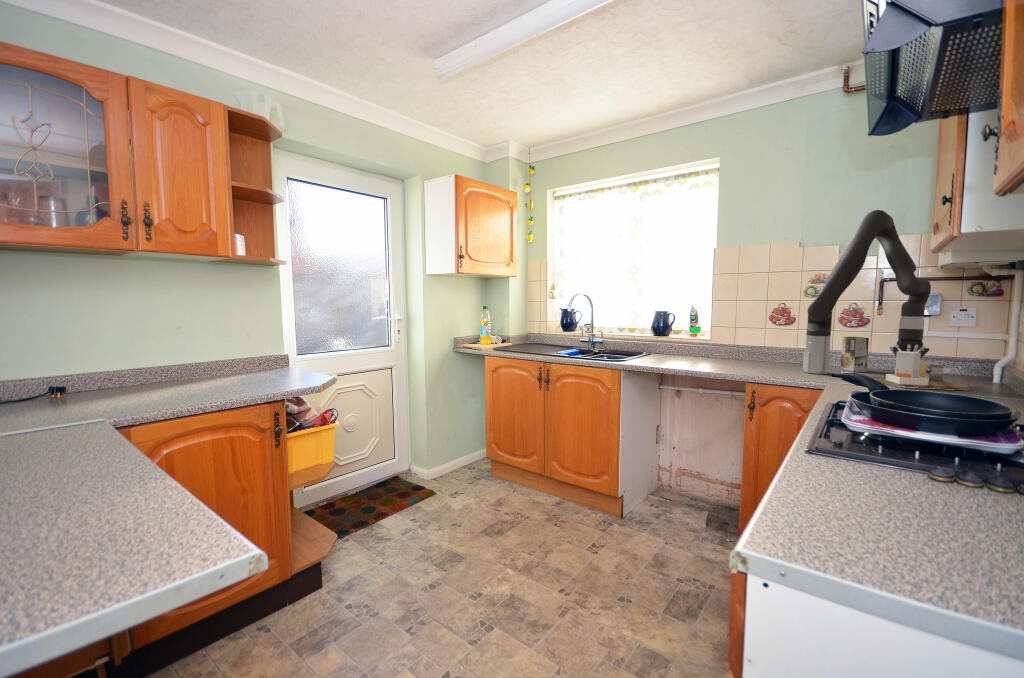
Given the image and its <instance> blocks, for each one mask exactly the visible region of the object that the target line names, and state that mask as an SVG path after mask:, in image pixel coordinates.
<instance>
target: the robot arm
mask: <svg viewBox="0 0 1024 678" xmlns="http://www.w3.org/2000/svg"><path fill="white" fill-rule="evenodd" d="M875 239H876V240H877V241H878V242H879V244H880V245H881V248H882V249H883V252H884V255H885V257H886V261H887V264H888V265H889V267H890V268H891V270H892V272H893V273H894V275H895V277H894V278H895V281H896V285H897V288H898V290H899V291H900V292H901V294H903V295H906V296H908V299H907V300H906V301H905V302H903V303H902V304H901V311H900V319H899V323H898V336H897V341H896V344H894V345H893V346H890V347H889V349H890V351H891V352H892V353H893V354H894V356H896V355H897V352H898V351H905V352H917V353H921V356H920V360H921V359H922V358H923V357H924V356H925V355H926V354H927V353H928V352H929V351H930V348H929V347H926V346H925V345H924V342H923V340H924V331H925V311H926V308H925V307H926V304H927V302H928V300H929V297H930V294H931V291H932V289H931V288H932V286H931V283H930V281H929V279H926V278H923V277H916V274H915V272H916V271H917V266H916V264H915V262H914V260H913V258H912V257H911V255H910V253H909V252H908V250H907V249H906V248H905V246H904V244H903V243H902V241H901V239H900V236H899V235H898V231H897V228H896V225H895V221H894V219H893V217H892V216H891V215H890V214H888V213H887V212H886V211H884V210H881V209H876V210H872V211H870V212H868V213H867V214H866V215H865V216H864V217H863V219H861V222H860V224H859V226H858V228H857V230H856V232H855V234H854V236H853V237H852V239H851V241H850V242H849V244H848V245H847V247H846V249H845V250H844V252H843V253H842V255H841V256H840V258H839V259H838V261H837V262H836V264H835V265H834V266H833V268H832V270H831V272H830V274H829V276H828V278H827V279H826V282H825V284H824V286H823V288H822V290H821V291H820V292H819V294H818V295H817V296H816V298H815V299H813V301H812V302H811V303H810V305H808V307H807V327H806V334H805V335H806V338H805V350H804V351H803V358H802V359H803V362H802V363H803V364H802V372H805V373H807V374H809V373H810V374H817V375H818V374H819V375H820V374H821V375H823V374H824V375H825V374H829V369H830V368H829V367H830V353H831V352H830V351H831V336H832V334H831V333H832V323H833V321H832V320H833V319H832V318H833V310H834V308H835V306H836V304H837V302H838V300H839V299H840V297H841V296H842V294H844V292H845V291H846V290H847V289H848V288H849V287H850V285H851V284H852V283H853V281H854V280H855V279H856V278H857V276H858V274H859V273H860V272H861V271H862V269H863V267H864V266H865V264H866V263H865V262H866V260H867V256H868V252H869V250H870V247H871V245H872V244H873V241H875Z"/></svg>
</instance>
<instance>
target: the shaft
mask: <svg viewBox="0 0 1024 678" xmlns="http://www.w3.org/2000/svg"><path fill="white" fill-rule="evenodd" d="M926 363H927V362H922V361H920V368H919V376H920V377H924V378H925V373H926V372H929V370H930V367H926ZM960 372H961V371H960V369H959V368H957V367H955V368H954V367H944V368H943V374H959V373H960Z"/></svg>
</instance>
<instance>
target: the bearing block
mask: <svg viewBox="0 0 1024 678" xmlns="http://www.w3.org/2000/svg"><path fill="white" fill-rule="evenodd" d="M925 363H926V367H930V370H929V372H926V373H925V378H928V379H929V380H930V381H944V380H943V379H944V378H943V377H944V373H943V368H945V367H944V366H945V365H944V364H942V363H937V362H936V363H935V362H925Z"/></svg>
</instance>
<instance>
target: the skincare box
mask: <svg viewBox="0 0 1024 678" xmlns="http://www.w3.org/2000/svg"><path fill="white" fill-rule="evenodd" d="M920 356H921V353H918V351H917V352H905V351H901V350H899V351H898V352H897V355H895V357H896V358H895V369H894V374H895V376H898V377H903V378H919V368H920V362H921V359H920Z"/></svg>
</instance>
